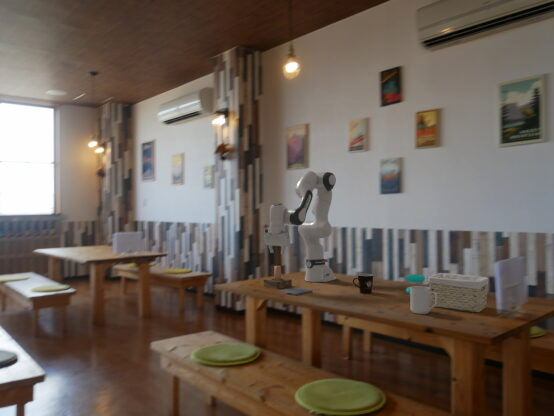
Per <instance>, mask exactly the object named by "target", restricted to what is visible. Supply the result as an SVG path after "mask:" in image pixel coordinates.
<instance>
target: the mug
mask: <svg viewBox="0 0 554 416" xmlns="http://www.w3.org/2000/svg"><path fill="white" fill-rule="evenodd" d="M409 287H410V294H409V299H410V300H409V303H410V306H409V309H410V311H411V312H412V313H414V314H418V315H428V314H429V313H430V312H431V311H432V310H431V309H433V308H434V307H435V306H436V305H437V293H435V292H431V290H430V286H424V285H413V286H412V287H411V286H409ZM431 293H434V294H435V304H434V306H432V305H431Z"/></svg>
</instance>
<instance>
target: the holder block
mask: <svg viewBox="0 0 554 416" xmlns="http://www.w3.org/2000/svg"><path fill="white" fill-rule="evenodd" d="M263 287H265V288H271V289H276V290H281V289H284V288H285V289H286V288H292V287H293V280H292V279H291V278H286V277H285V278H284V277H281V280H279V281H276V280H274V277H272V278H271V277H270V278H267V279H263Z"/></svg>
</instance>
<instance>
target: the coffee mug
mask: <svg viewBox="0 0 554 416" xmlns="http://www.w3.org/2000/svg"><path fill="white" fill-rule="evenodd" d="M355 280H357V281H358V285H357V284H355ZM373 282H374V274H371V273H358V274H357V277H354V278H353V280H352V284H353V285H354V286H355V287H357V288H358V289H359V294H363V295H369V294H370V295H371V294H372V293H373Z"/></svg>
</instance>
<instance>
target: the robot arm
mask: <svg viewBox="0 0 554 416" xmlns="http://www.w3.org/2000/svg"><path fill="white" fill-rule="evenodd" d="M336 182H337V181H336V175H335V174H334V173H332V172H329V171H321V172H319V171H318V172H314V171H311V170H308V171H306V172H305V173H304V174H302V176H301V177H300V178H299V180H298V182H297V183H296V184H295V186H294V192H295V194H296V196H297V197H299V199H301V201H300V203H299V205H298V206H297V207H296V208H287V207H285V205H284V204H283V203H273V204H271V205H270V207H269V227H267V228H265V229H264V230H263V233H264V235H263V242H264V243H263V244H264V245H265V246H268V248H269V253H271V254H274V251H275V250H274V249H273V247H276V246H277V247H281V250H280V254H281V255H284V254H285V250H286V247H291V238H290V233H289V232H288V230H285V225H289V226H290V225H291V226H297V231H298V234H299V236H301V237H302V239H303V242H304V244H305V248H306V249H305V250H306V259H305V264H306V267H305V276H304V281H306V282H313V283H319V282H320V283H321V282H322V283H327V282H331V281H334V280H337V276H334V271H333V270H332V268H331V267H330V266H328V265H327V264H326V263H328V262H329V259H328V258H325V259H324V257H325V255H324V246H323V244H321V243H320V241H319V240H318V239H325V238H329V237H330V236H331V235H332V232H333V227H332V224H331V223H330V221H329V211H330V207H331V204H332V200H333V191H332V190H333V189H334V187H335V185H336ZM314 189H315V190H317V193H316V195H315V197H314V193H313V191H314ZM313 197H314V201H313ZM312 201H313V204H312V208H311V213H312V215H313V216H314V220H306V216H307V213H308V210H309V208H310V205H311V203H312Z"/></svg>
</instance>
